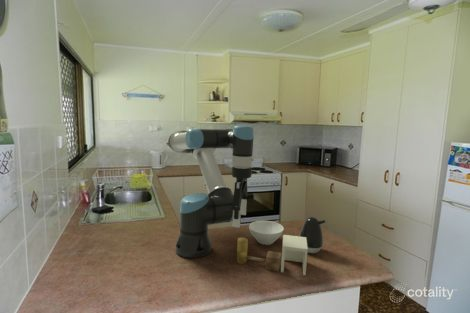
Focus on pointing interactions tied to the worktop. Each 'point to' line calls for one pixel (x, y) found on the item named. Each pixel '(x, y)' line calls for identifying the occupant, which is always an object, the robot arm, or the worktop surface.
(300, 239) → the cream u-shaped stand
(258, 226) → the bowl
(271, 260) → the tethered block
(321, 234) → the pump dispenser
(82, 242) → the worktop surface
